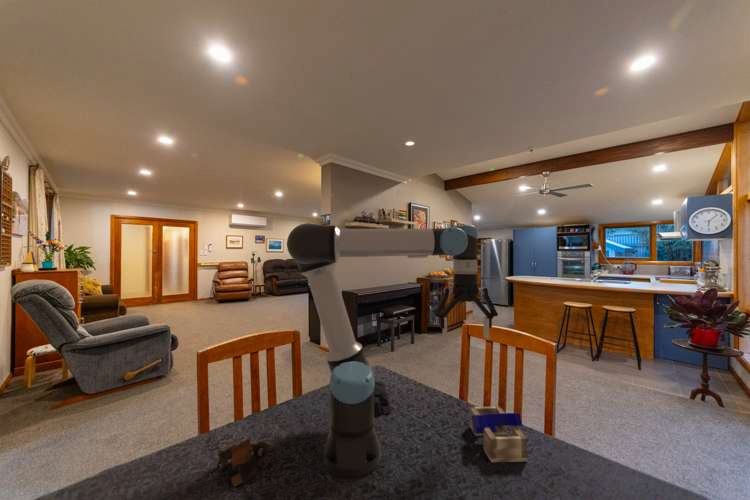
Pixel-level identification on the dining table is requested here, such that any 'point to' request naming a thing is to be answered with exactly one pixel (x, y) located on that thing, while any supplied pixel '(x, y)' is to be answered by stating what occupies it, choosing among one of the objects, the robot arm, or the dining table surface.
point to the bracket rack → (501, 439)
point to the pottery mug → (244, 459)
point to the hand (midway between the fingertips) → (465, 338)
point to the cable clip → (495, 421)
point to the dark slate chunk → (381, 400)
